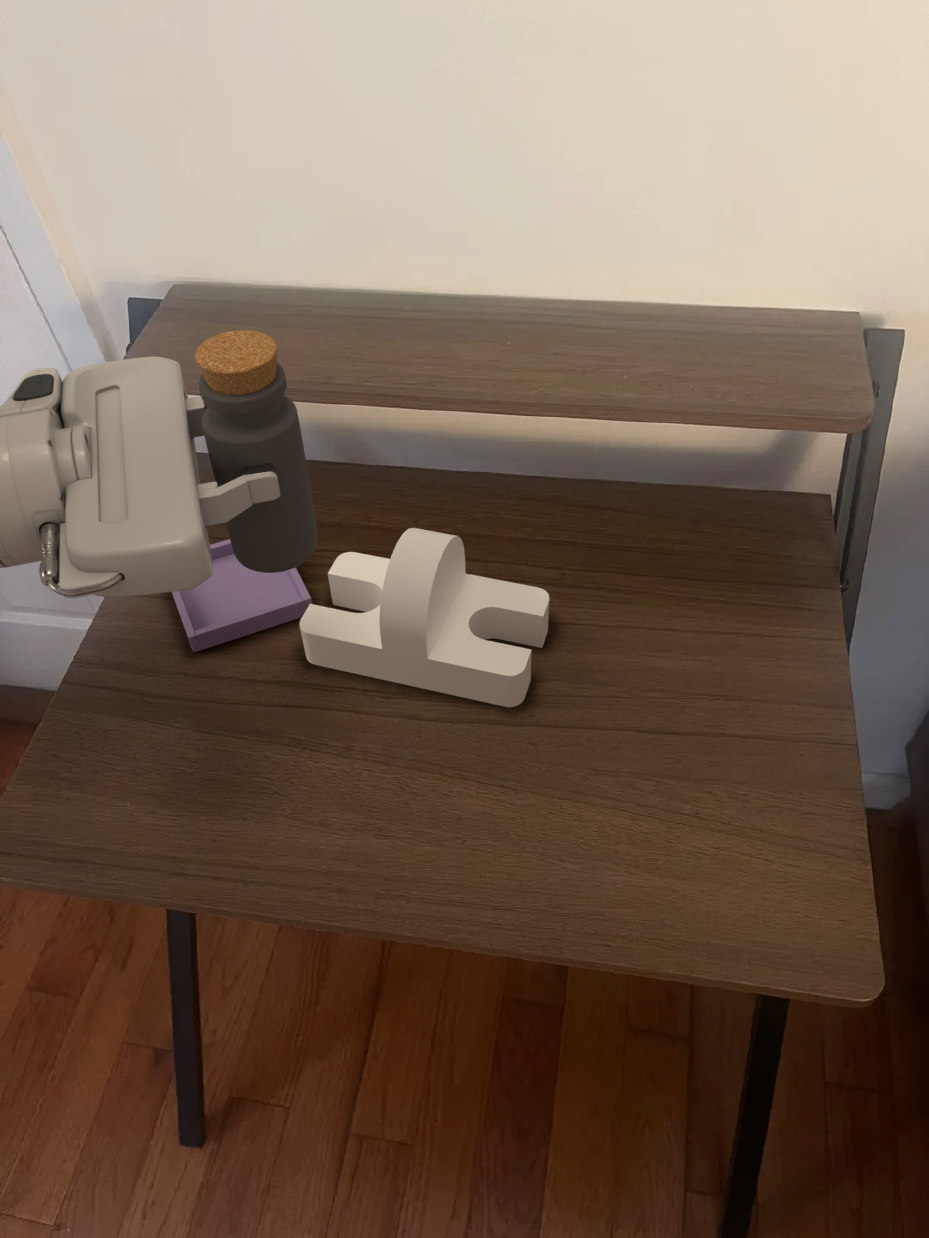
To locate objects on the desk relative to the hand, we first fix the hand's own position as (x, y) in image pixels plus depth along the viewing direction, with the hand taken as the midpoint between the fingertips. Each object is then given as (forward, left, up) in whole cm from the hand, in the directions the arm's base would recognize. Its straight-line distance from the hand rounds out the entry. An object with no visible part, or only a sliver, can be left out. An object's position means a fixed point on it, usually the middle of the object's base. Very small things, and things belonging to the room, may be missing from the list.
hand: (269, 446), depth 64 cm
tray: (-3, +12, -22) cm, 25 cm away
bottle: (-1, 0, -8) cm, 8 cm away
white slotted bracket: (+9, -1, -22) cm, 24 cm away
